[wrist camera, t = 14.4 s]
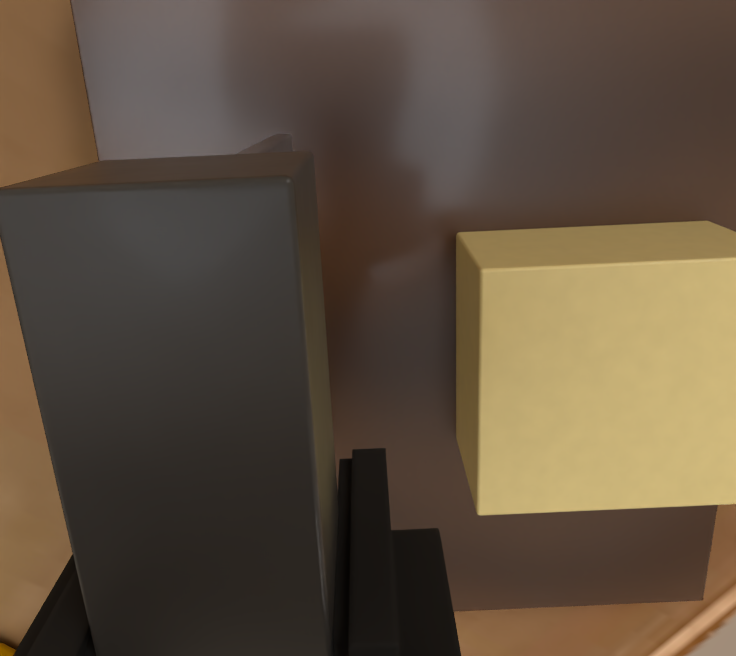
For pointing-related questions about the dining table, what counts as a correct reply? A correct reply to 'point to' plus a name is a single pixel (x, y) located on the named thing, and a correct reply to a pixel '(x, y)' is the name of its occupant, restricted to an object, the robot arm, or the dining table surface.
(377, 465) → the robot arm
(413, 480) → the cutting board
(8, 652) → the element tile
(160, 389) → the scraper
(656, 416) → the butter
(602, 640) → the dining table surface
